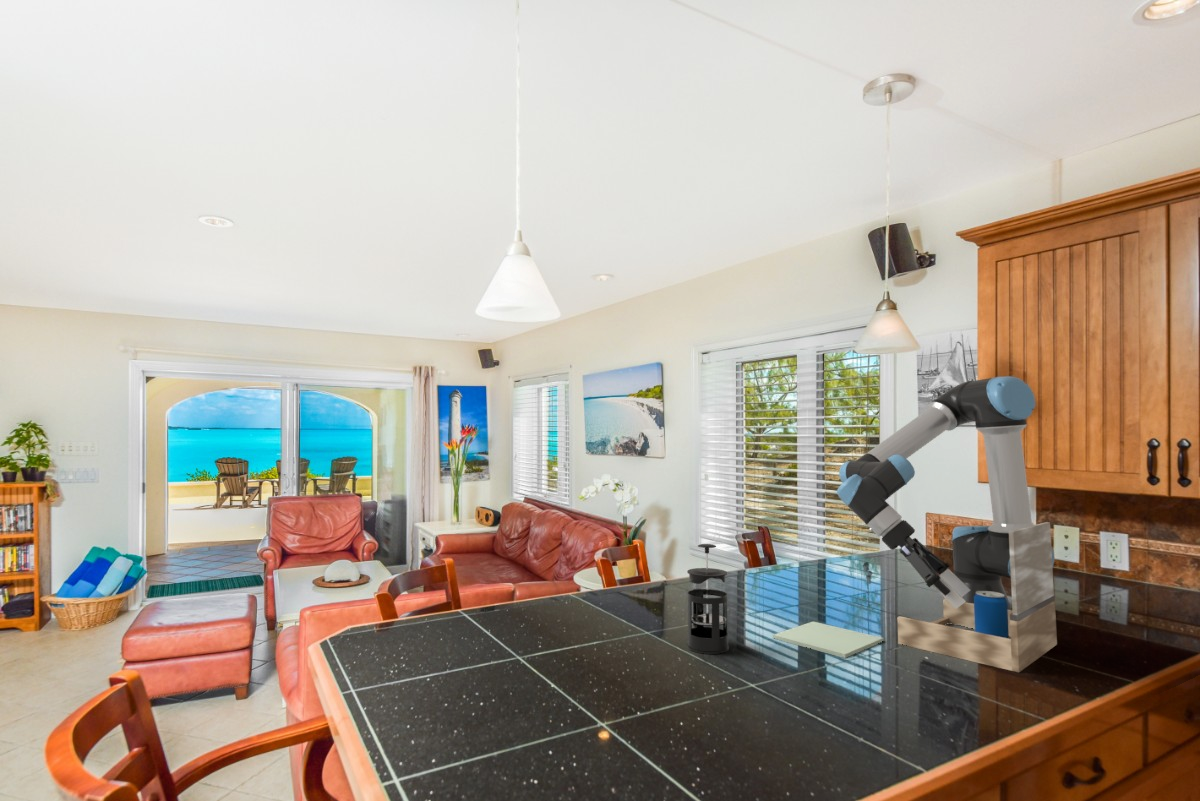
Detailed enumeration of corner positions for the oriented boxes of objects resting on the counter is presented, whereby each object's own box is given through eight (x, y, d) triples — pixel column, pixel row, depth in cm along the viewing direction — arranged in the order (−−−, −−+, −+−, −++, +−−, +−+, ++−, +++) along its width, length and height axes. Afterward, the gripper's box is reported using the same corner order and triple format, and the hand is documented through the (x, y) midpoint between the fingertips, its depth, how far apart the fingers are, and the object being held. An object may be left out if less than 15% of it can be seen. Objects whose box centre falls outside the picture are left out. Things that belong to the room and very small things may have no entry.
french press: (737, 653, 135) (736, 547, 137) (697, 656, 133) (696, 548, 135) (715, 637, 146) (714, 539, 148) (677, 640, 144) (677, 540, 146)
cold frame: (898, 643, 143) (894, 521, 145) (945, 622, 161) (941, 513, 163) (1019, 672, 124) (1013, 532, 127) (1057, 644, 143) (1051, 522, 145)
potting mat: (772, 638, 146) (772, 634, 146) (813, 624, 158) (813, 621, 158) (845, 658, 133) (844, 654, 133) (883, 641, 144) (883, 637, 144)
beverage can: (999, 643, 143) (997, 590, 144) (1015, 652, 137) (1012, 597, 138) (970, 642, 144) (968, 590, 145) (984, 651, 138) (982, 596, 138)
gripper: (889, 533, 165) (955, 598, 155) (869, 544, 144) (944, 620, 134) (910, 514, 162) (979, 580, 152) (894, 523, 142) (972, 599, 132)
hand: (963, 599), depth 143 cm, fingers open, 13 cm apart
